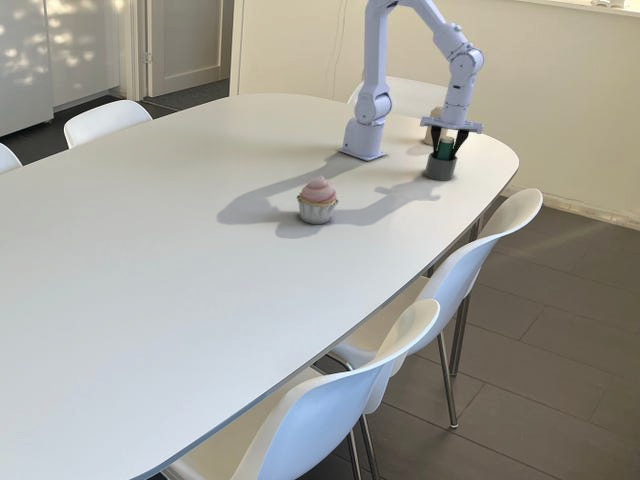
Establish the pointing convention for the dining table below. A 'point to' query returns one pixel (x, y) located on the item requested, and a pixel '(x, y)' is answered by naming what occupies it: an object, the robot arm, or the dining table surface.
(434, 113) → the candle
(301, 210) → the cupcake
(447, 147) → the cylinder
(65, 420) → the dining table surface
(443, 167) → the cup
